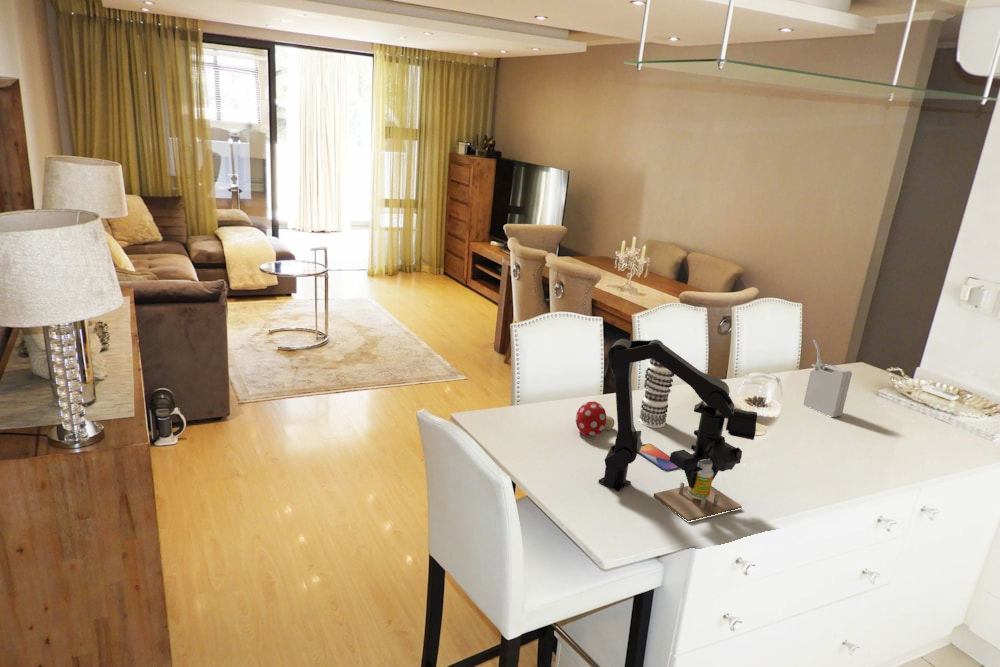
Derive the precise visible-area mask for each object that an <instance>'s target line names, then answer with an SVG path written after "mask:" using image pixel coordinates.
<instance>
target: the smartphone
mask: <svg viewBox="0 0 1000 667" xmlns="http://www.w3.org/2000/svg"><path fill="white" fill-rule="evenodd" d="M638 455H639V456H641V457H642V458H644V459H645V460H647V461H648V462H649V463H651V464H652V465H654V466H656V467H657V468H659V469H660V470H661V471H663V472H670V471H675V470H679V469H680V468H679V467H678V466H676V465H675V464H673V463H672V462H670V455H668V453H665V452H664V451H662V450H661V449H660V448H658V447H656V446H655V445H653V444H651V443H645V444H644V443H642V446H641V449H640V452H639V454H638ZM680 470H681V469H680Z"/></svg>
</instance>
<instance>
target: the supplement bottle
mask: <svg viewBox="0 0 1000 667" xmlns="http://www.w3.org/2000/svg"><path fill="white" fill-rule="evenodd" d="M699 467H700V468H702V470H701V471H699V472H698V473H697V477H696V481H695V485H694V488H690V487H688V494H689V495H690V496H691V497H693V498H696V499H700V500H702V497H704V498H706V499H707V498H708V497H709V494H710V489H711V486H712V483H713V481H712V479H713V474H714V473H713V470H712V469H711V468H712V461H711V460H710V459H709V460H703V461H700V463H699ZM713 480H714V479H713Z"/></svg>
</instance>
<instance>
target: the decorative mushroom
mask: <svg viewBox="0 0 1000 667" xmlns="http://www.w3.org/2000/svg"><path fill="white" fill-rule="evenodd" d="M606 413H607V412H606V409H605V408H604V406H603V405H602V404H601V403H599V402H597V401H587V402H585V403H583V404H582V405H580V408H578V409H577V412H576V415H575V424H576V427H577V429H578V431H579V432H580V434H582V435H583V434H584V436H585V435H586V437H587V436H589V437H590V438H591V437H596V436H599V435H600V433H601V432H602V431H603V430H611V429H613V428H614V427H615V424H616V423H615V422H616V421H615V420H614V418H613V417H612V416H611V415H607V414H606ZM589 437H588V438H589Z"/></svg>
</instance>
